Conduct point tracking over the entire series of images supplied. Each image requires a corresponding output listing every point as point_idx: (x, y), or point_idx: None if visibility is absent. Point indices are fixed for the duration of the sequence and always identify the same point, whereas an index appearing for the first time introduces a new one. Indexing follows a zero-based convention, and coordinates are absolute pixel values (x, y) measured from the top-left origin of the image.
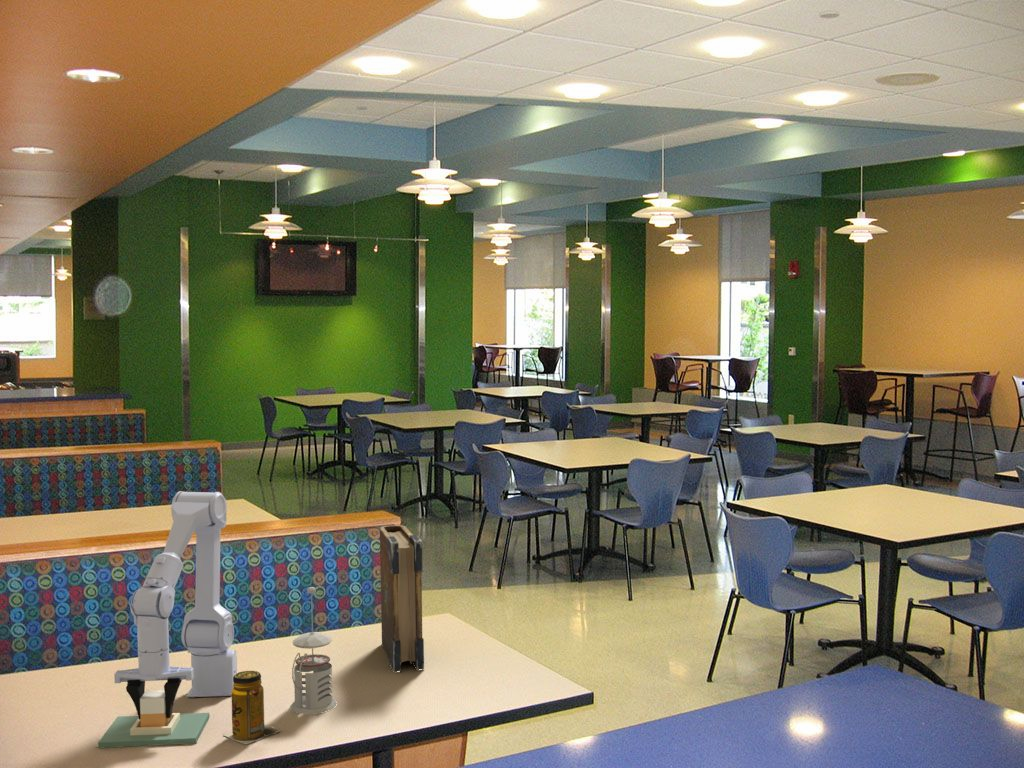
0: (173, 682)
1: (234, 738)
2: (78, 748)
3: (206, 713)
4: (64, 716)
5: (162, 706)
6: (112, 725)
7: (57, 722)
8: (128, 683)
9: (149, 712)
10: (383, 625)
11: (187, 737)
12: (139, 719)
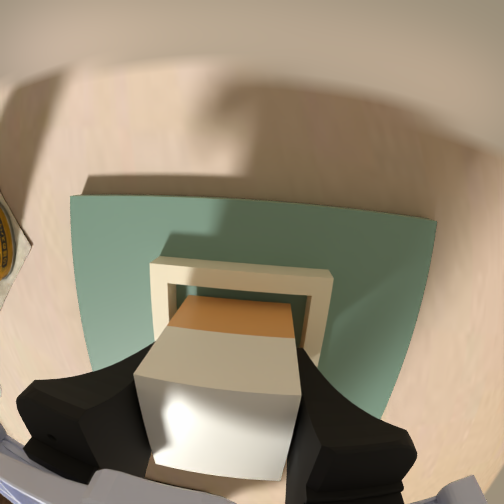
0: (51, 441)
1: (8, 216)
2: (475, 230)
3: None
4: (470, 430)
5: (162, 345)
6: (395, 371)
7: (488, 404)
8: (394, 495)
9: (243, 337)
10: (5, 497)
11: (95, 205)
12: None
